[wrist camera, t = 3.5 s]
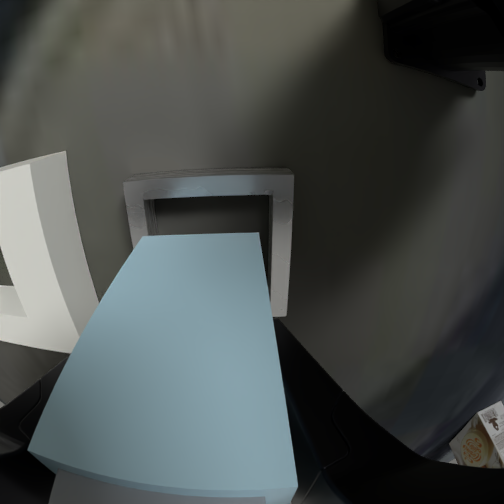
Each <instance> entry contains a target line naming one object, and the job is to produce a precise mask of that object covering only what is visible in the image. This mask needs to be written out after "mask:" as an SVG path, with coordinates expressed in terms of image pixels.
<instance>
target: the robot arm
mask: <svg viewBox="0 0 504 504" xmlns="http://www.w3.org/2000/svg"><path fill="white" fill-rule="evenodd" d="M378 11H379V17H380V19H381V20H382V21H383V35H384V53H385V56H386V58H387V60H389V61H390V62H391V63H393V64H397V65H401V66H405V67H408V68H412V69H416V70H419V71H423V72H426V73H429V74H432V75H435V76H439V77H442V78H444V79H447V80H450V81H453V82H456V83H458V84H461V85H464V86H466V87H469V88H471V89H474V90H478V91H483V90H484V89H485V87H486V76H485V71H504V0H378ZM393 49H394V50H396V51H397V52H398V58H397V57H395V55H394V54H393ZM477 80H478V83H477ZM273 323H274V330H275V336H276V342H277V349H278V355H279V362H280V368H281V374H282V381H283V387H284V394H285V401H286V407H287V414H288V420H289V427H290V434H291V441H292V447H293V454H294V461H295V468H296V475H297V482H298V488H297V490H296V492H295V494H294V496H293V498H292V500H291V503H292V504H504V468H483V467H474V466H466V465H458V464H452V463H445V462H440V461H434V460H431V459H427V458H425V457H423V456H420V455H419V454H417V453H415V452H414V451H412V450H411V449H409V448H408V447H407V446H406V445H404V444H403V443H402V442H400V441H399V440H398V439H397V438H395V437H394V436H393V435H392V434H390V433H389V432H388V431H386V430H385V429H384V428H383V427H382V426H380V425H379V424H378V423H377V422H375V421H374V420H373V419H372V418H371V417H370V416H369V415H367V414H366V413H365V412H364V411H363V410H362V409H361V408H360V407H359V406H358V405H357V404H356V403H355V402H354V401H353V400H352V399H351V398H350V397H349V396H348V395H347V394H346V392H344V391H343V390H342V388H341V387H340V386H339V385H338V384H337V383H336V382H335V381H334V380H333V379H332V378H331V376H330V375H329V374H328V373H327V372H326V371H325V370H324V369H323V368H322V367H321V366H320V364H319V363H318V362H317V361H316V360H315V359H314V358H313V357H312V356H311V355H310V353H309V352H308V351H307V350H306V349H305V348H304V347H303V346H302V345H301V343H300V342H299V341H298V340H297V339H296V338H295V337H294V336H293V335H292V333H291V332H290V331H289V330H288V329H287V328H286V327H285V326H284V325H283V323H282V322H281V321H280V320H279V319H277V318H273ZM69 356H70V355H69ZM69 356H68V357H66V358H65V359H64V360H63V361H61V362H60V363H59V364H58V365H56V366H55V367H54V368H53V369H51V370H50V371H49V372H48V373H46V374H45V375H44V376H43V377H41V380H40V379H39V380H38V381H36V382H35V383H34V384H33V385H31V386H30V387H29V388H28V389H26V390H25V391H24V392H23V393H21V394H20V395H19V396H17V397H16V398H14V399H13V400H12V401H10V402H9V403H7V404H6V405H4V406H3V407H1V408H0V504H48V503H49V499H50V495H51V492H52V488H53V484H54V481H55V477H56V474H55V473H54V472H52V471H51V470H50V469H49V468H47V467H46V466H45V465H44V464H43V463H41V462H40V461H39V460H38V459H37V458H36V457H34V456H33V455H32V454H31V453H30V452H29V451H28V447H29V445H30V442H31V439H32V437H33V434H34V432H35V429H36V427H37V424H38V422H39V420H40V417H41V415H42V413H43V410H44V408H45V406H46V404H47V401H48V399H49V397H50V395H51V393H52V391H53V389H54V386H55V384H56V382H57V380H58V378H59V376H60V374H61V372H62V370H63V368H64V366H65V364H66V362H67V360H68V358H69ZM342 391H343V392H342Z"/></svg>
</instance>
